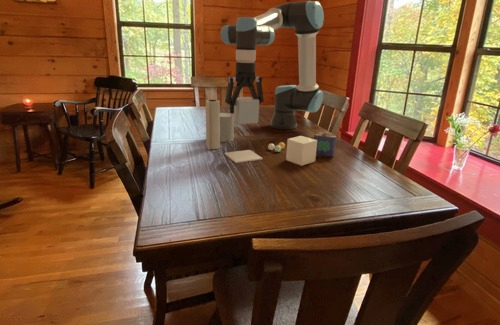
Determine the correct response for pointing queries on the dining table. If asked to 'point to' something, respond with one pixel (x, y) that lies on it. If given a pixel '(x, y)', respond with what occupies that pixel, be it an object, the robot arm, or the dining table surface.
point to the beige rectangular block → (301, 150)
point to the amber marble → (282, 145)
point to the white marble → (271, 146)
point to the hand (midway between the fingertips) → (244, 120)
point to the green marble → (277, 148)
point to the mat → (243, 156)
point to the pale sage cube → (246, 110)
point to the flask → (325, 145)
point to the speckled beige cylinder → (226, 127)
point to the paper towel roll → (212, 124)
